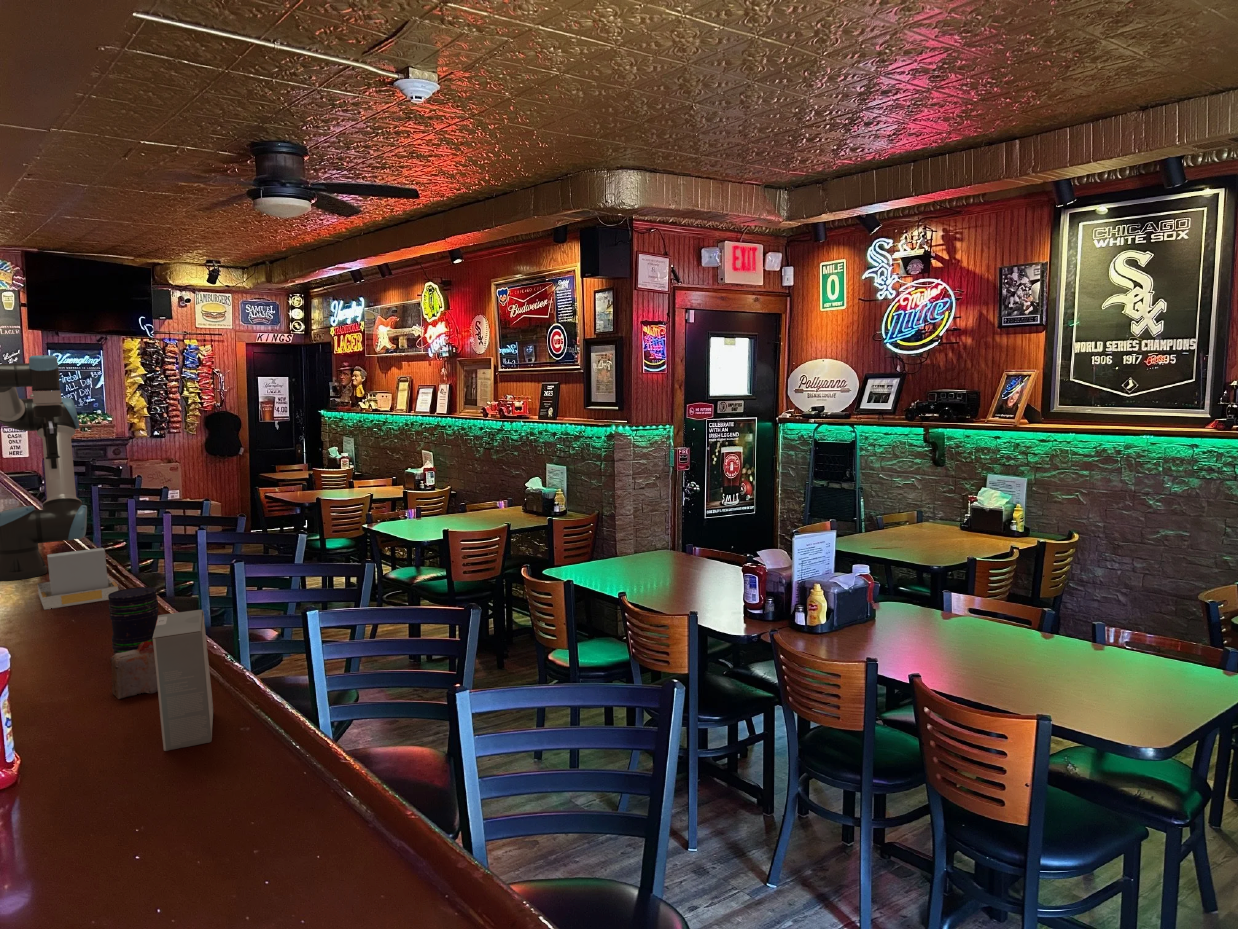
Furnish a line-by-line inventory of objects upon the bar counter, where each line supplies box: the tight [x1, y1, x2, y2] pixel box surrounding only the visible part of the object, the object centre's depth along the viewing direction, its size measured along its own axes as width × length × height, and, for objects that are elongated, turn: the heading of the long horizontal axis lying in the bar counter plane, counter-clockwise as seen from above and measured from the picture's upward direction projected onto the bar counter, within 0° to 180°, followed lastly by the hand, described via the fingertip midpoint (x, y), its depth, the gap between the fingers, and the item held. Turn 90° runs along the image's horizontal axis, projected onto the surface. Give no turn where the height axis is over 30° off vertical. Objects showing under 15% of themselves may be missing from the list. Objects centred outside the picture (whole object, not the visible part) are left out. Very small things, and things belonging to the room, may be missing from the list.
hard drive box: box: [152, 609, 214, 752], centre depth 150 cm, size 16×8×20 cm, turn 25°
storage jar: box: [108, 586, 160, 656], centre depth 196 cm, size 10×10×15 cm
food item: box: [109, 641, 158, 700], centre depth 174 cm, size 14×8×10 cm, turn 130°
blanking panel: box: [46, 547, 108, 596], centre depth 252 cm, size 5×14×14 cm, turn 127°
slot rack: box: [37, 573, 119, 610], centre depth 258 cm, size 24×19×4 cm
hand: (54, 478), depth 272 cm, fingers closed
